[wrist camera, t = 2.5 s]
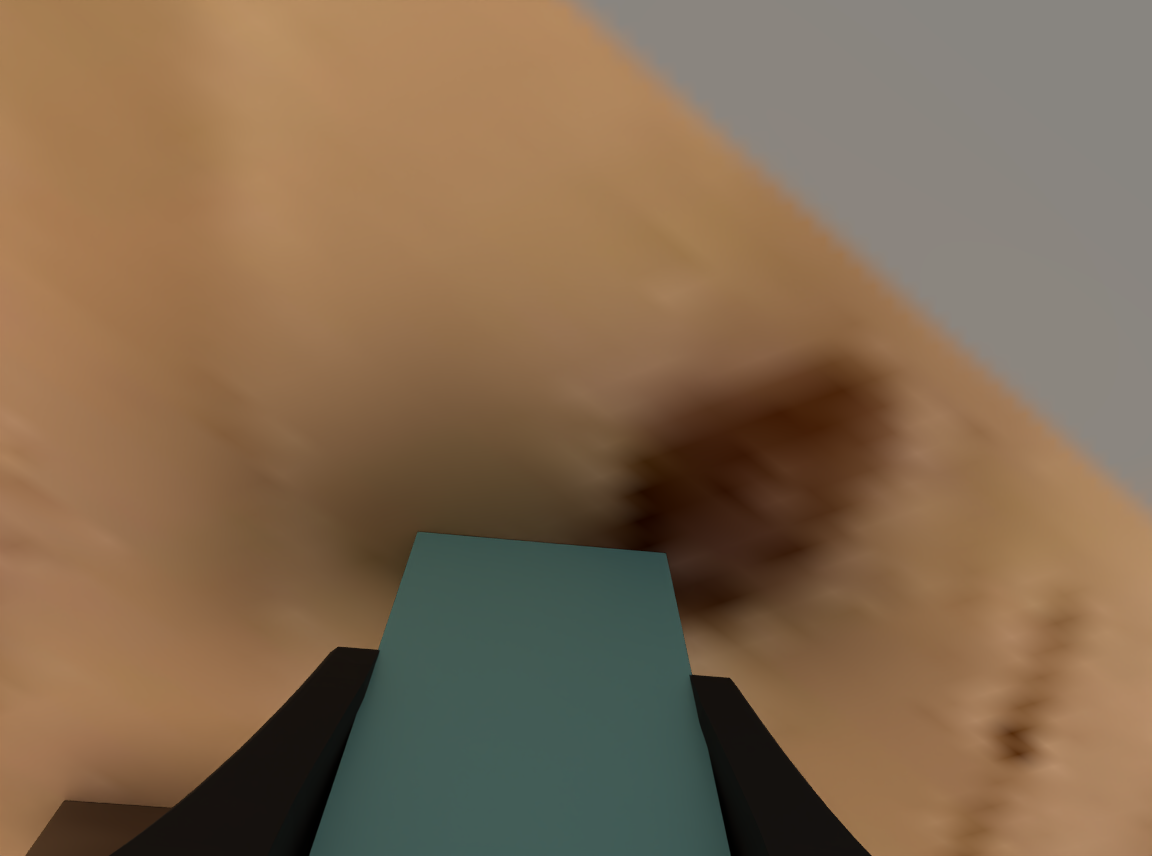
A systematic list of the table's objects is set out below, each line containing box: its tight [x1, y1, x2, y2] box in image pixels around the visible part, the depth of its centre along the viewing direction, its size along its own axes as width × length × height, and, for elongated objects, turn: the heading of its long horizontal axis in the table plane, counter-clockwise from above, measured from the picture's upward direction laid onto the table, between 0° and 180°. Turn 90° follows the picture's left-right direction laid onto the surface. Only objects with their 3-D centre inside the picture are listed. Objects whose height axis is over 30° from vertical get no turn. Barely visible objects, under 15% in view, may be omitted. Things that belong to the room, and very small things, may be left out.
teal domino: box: [309, 532, 731, 856], centre depth 12 cm, size 4×2×8 cm, turn 84°
